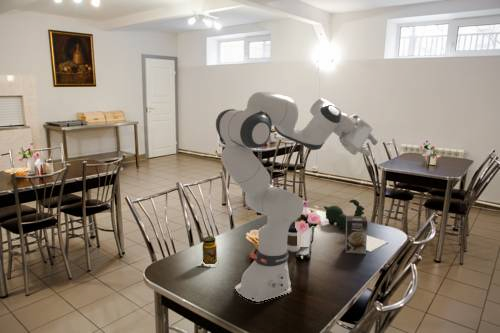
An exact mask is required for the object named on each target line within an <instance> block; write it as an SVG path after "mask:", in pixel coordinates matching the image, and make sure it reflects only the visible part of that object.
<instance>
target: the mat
mask: <svg viewBox="0 0 500 333" xmlns="http://www.w3.org/2000/svg"><path fill="white" fill-rule="evenodd" d="M387 244H389V242H388V241H387V240H383V239H380V238H377V237H374V236H370V235H368V234H367V242H366V252H369V253H372V252H373V251H376V250H378V249H379V248H382V247H383V246H384V245H387Z"/></svg>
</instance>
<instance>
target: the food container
mask: <svg viewBox="0 0 500 333" xmlns="http://www.w3.org/2000/svg"><path fill="white" fill-rule="evenodd" d="M316 226H317V225H316ZM316 226H313V227H312V242H311V243H313V241H314V236H315V229H316Z"/></svg>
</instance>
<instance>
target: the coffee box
mask: <svg viewBox="0 0 500 333" xmlns="http://www.w3.org/2000/svg"><path fill="white" fill-rule="evenodd" d="M367 235H368V219H367V217H366V216H362V217H359V216H354V215H346V230H345V243H344V247H345V253H346V254H363V255H364V254H365V255H366V254H367V251H366V242H367Z"/></svg>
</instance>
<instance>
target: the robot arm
mask: <svg viewBox="0 0 500 333" xmlns="http://www.w3.org/2000/svg"><path fill="white" fill-rule="evenodd" d="M246 103H247V104H246V109H244V110H241V109H240V110H239V109H234V108H231V109H225V110H223V111H222V112H220V113H219V114H218V116H217V118H216V119H215V129H216V132H217V134H218V136H219V141H220V143H221V144H223V145H225V147H224V148H223V150H222V151H221V154H220V160H221V163H222V166H223V167H224V169H225V171H226V172H227V174H228V175H229V176H230V177H231V179H232V180H233V181H234V182H235V183H236V184H237V186H239V188H240V189H241V190H242V191H243V192H244V203H245V204H246V205H247V206H248V207H249V208H250V209H251V210H253V211H254V212H257V213H259V214H262V215H266V216H267V222H266V223H265V224H264V225H263V226H262V227H260V228H259V230H258V233H257V234H258V239H257V240H258V246H257V247H258V248H257V249H256V253H255V252H250V254H249V258H250V259H253V262H252V263H251V264H250V265H249V266H248V268H246V270H245V271H244V272H243V273H242V276H241V281H240V283H238V284H237V285H235V286H234V290H235V289H236V291H237V292H238V293H239V294H241V295H242V296H243V297H245V298H247V299H250V300H252V301H256V302H260V301H264V300H268V299H271V298H274V299H276V298H275V297H277V298H279V297H278V296H280V297H282V296H281V295H283V296H285V295H288V294H291V293H292V287H291V284H292V282H291V280H290V273H289V272H290V271H289V266H288V260H289V250H288V249H287V237H288V230H289V227H290V225H291V224H292V223H293V222H296V221H297V220H298V219H299V218H300V217H302V216H301V215H302V214H303V210H304V202H303V199H302V198H301V196H299V195H297V194H296V193H294V192H292V191H290V190H286V189H283V188H279V187H276V186H274V185H272V184H271V183H270V181H271V175H270V173H269V171H268V170H267V169H266V167H265V166H264V165H263V163H262V162H261V160H259V159H258V157H257V156H256V155H255V154H254V152H253V149H260V148H263V147H264V146H265V145H266V144H267V143H268V141H269V139H270V138H271V134H272V126H273V129H274V130H275V132H276V133H277V134H278V135H280V136H281V137H283V138H285V139H287V140H290V141H292V142H295V143H297V144H299V145H301V146H303V147H305V148H306V149H308V150H311V151H317V150H320V149H321V148H322V147H323V145H324V144H325V143H326V141H327V140H328V139H329V138H330V136H331V135H332V134H333V133H334V135H335V134H336V136H338V140H339V143H341V145H342V146H343V148H345V150H346V151H348V153H349V154H351V155H354V156H355V155H357V154H358V153H360V154H363V155H366V156H367V157H370V156H371V155H372V150H370V149H366V148H365V147H364V146H363V145H364V144H365V142H366V141H367V140H369V141H370V142H371V144H372V145H373V146H376V145H377V144H378V140H377V139H376V138H375V137H374V135H373V134H372V133H371V132H372V131H373V128H372V126H371V125H370V124H368V123H367V122H366V121H365V120H364V119H361V118H360V116H359V115H358V114H353V115H348V114H347V113H344V112H343V111H341V109H340V108H339V107H337V106H336V105H334V104H333V103H332V102H331V101H328V100H326V99H324V98H319V99H317V100H316V101H314V103H313V104H312V106H311V107H310V110H309V112H310V114H311V115H312V116H313V117H312V118H311V119H310V121H309V122H308V123H307V124H306V126H305V127H304V128H303V129H301V130H300V129H299V128H295V126H296V124H297V122H298V120H299V109H298V105H297V103H296V102H295V101H294V99H292V98H291V97H290V96H287V95H285V94H280V93H276V92H269V91H256V92H253V94H251V96H250V97H249V98H248V100H247V102H246ZM236 291H235V292H236ZM290 292H291V293H290ZM287 293H288V294H287ZM284 294H285V295H284ZM252 298H254V299H252ZM271 300H272V299H271ZM268 301H269V300H268Z"/></svg>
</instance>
